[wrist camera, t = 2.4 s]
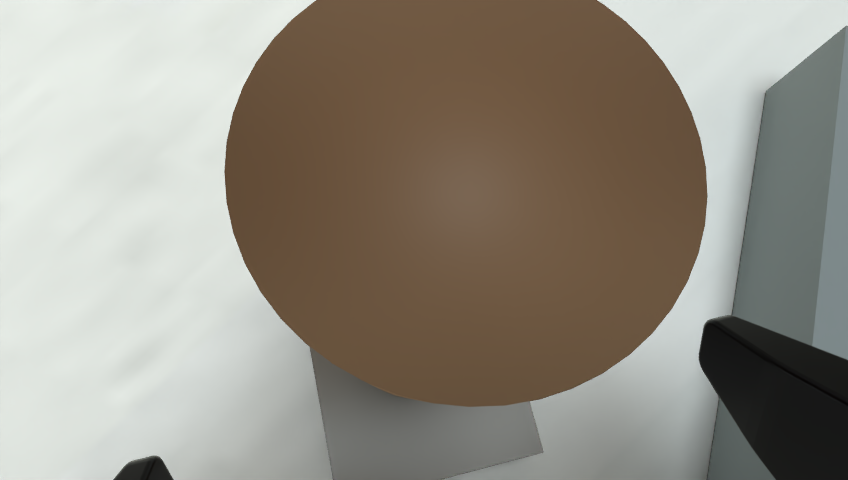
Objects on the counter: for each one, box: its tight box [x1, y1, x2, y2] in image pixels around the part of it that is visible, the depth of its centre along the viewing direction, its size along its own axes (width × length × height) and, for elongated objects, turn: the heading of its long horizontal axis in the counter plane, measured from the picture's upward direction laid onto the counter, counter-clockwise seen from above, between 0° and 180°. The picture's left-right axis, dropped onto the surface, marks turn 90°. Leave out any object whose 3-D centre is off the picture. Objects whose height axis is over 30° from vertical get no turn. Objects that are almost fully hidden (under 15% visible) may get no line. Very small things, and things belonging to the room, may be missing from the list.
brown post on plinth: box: [225, 0, 707, 480], centre depth 11 cm, size 8×6×15 cm
